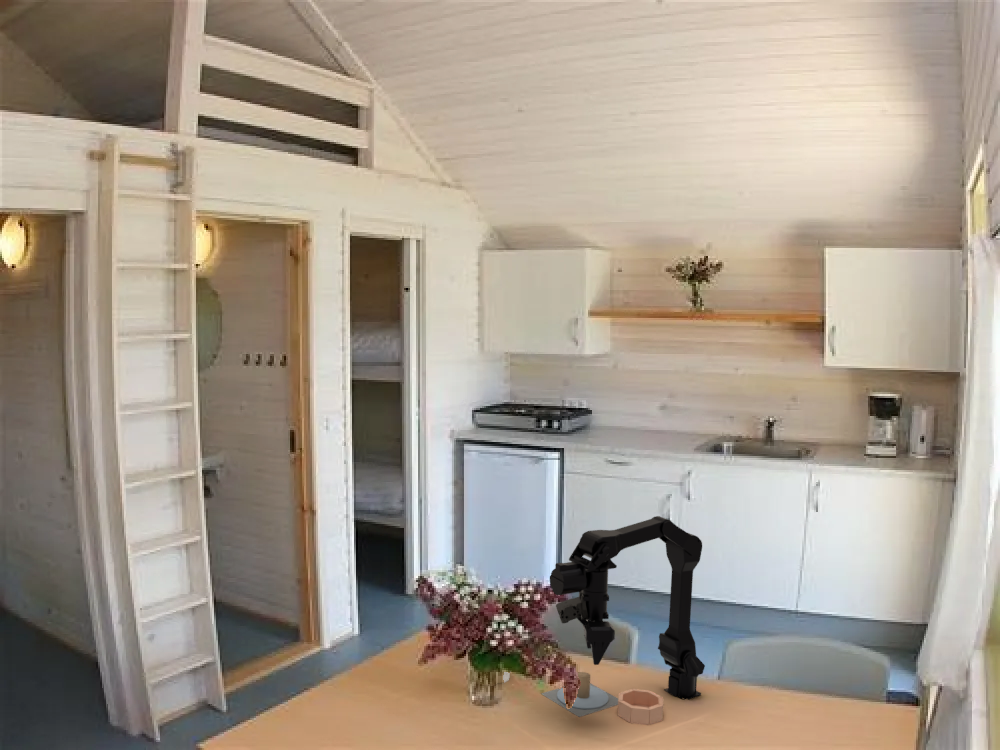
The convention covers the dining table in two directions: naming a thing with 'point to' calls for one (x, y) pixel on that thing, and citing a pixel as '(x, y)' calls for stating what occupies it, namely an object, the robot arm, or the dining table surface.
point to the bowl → (640, 706)
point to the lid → (586, 695)
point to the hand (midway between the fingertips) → (592, 656)
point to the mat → (581, 712)
